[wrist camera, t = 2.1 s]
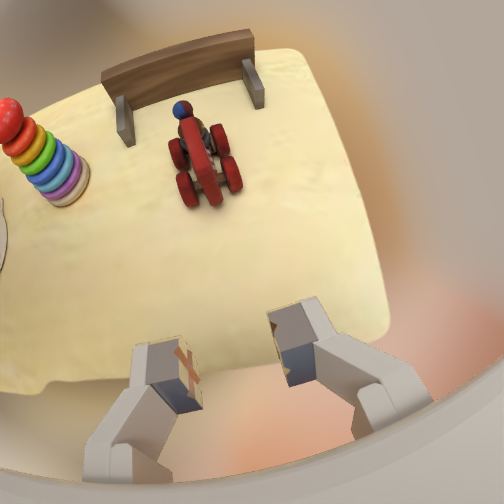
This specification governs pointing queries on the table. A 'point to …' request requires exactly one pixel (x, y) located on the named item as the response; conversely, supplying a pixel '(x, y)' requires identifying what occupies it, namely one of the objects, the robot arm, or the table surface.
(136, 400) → the robot arm
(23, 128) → the stacking toy
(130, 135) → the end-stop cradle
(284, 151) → the table surface
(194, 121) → the toy fire truck
